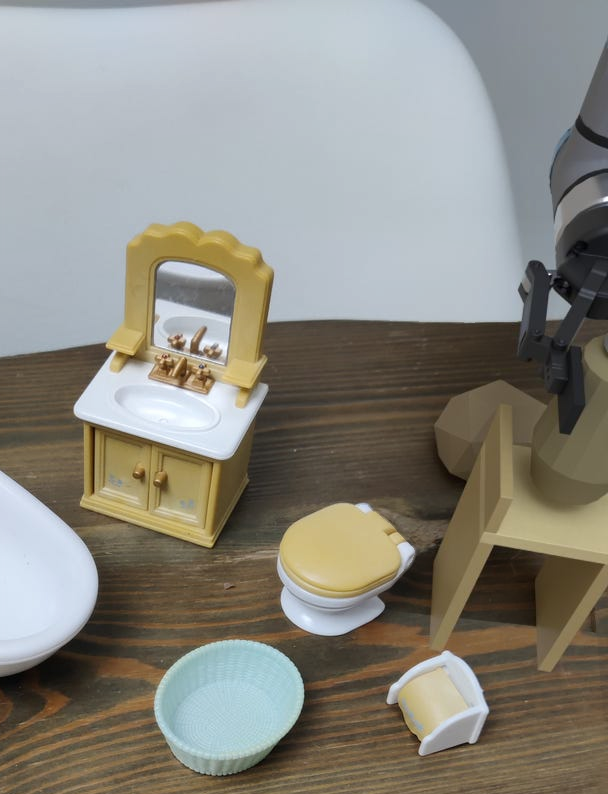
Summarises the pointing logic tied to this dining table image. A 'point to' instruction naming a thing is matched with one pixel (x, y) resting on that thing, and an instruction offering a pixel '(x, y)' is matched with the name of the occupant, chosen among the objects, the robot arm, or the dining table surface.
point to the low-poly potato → (482, 423)
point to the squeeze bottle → (576, 439)
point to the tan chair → (521, 544)
